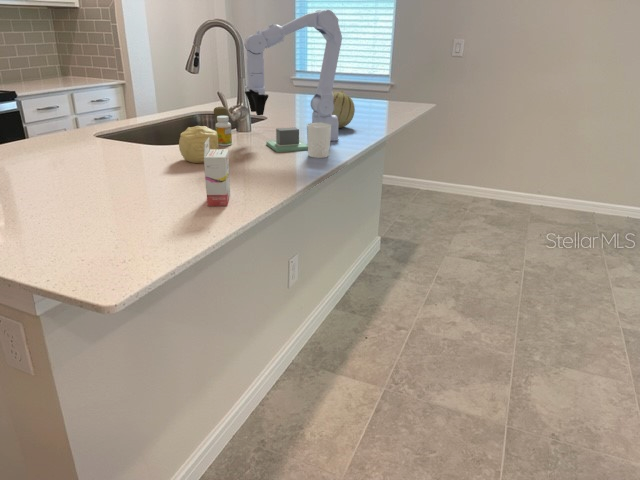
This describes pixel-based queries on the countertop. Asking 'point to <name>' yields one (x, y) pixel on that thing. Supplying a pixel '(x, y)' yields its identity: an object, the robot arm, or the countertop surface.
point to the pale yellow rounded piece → (197, 143)
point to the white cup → (318, 139)
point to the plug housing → (287, 136)
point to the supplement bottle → (223, 131)
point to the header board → (287, 146)
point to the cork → (220, 113)
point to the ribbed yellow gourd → (343, 108)
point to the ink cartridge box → (216, 175)
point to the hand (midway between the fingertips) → (257, 113)
